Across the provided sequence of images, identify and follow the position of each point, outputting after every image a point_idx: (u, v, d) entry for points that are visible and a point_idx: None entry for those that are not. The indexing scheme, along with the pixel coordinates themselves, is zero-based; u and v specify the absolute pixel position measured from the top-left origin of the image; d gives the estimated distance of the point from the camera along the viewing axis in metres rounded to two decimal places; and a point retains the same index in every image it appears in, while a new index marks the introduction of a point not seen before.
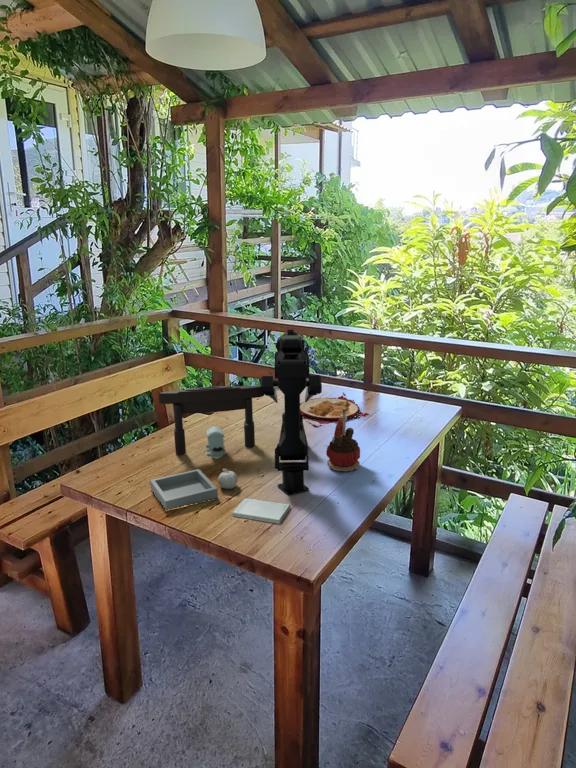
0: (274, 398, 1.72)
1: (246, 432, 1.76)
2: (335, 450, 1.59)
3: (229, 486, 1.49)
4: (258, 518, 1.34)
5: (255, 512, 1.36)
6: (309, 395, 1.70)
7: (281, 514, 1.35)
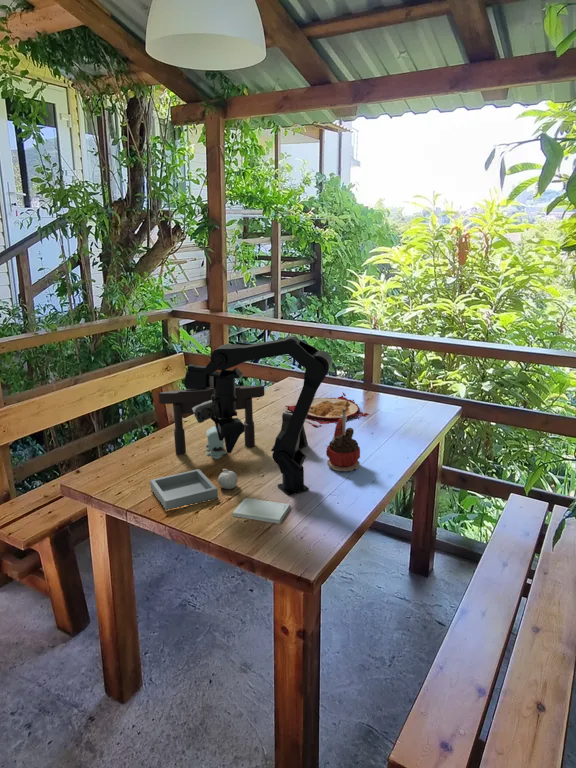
0: None
1: (246, 432, 1.76)
2: (335, 450, 1.59)
3: (229, 486, 1.49)
4: (258, 518, 1.34)
5: (255, 512, 1.36)
6: None
7: (281, 514, 1.35)
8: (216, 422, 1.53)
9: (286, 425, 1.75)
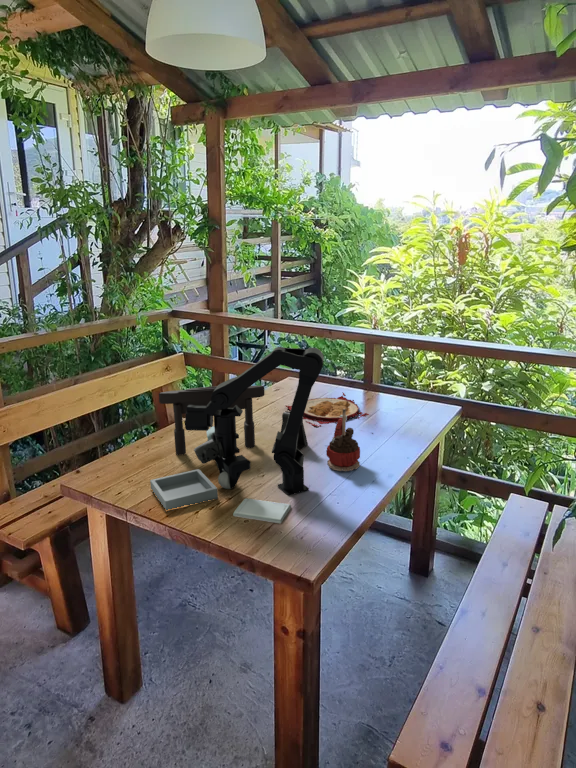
0: None
1: (246, 432, 1.76)
2: (335, 450, 1.59)
3: (229, 485, 1.49)
4: (259, 518, 1.34)
5: (256, 512, 1.36)
6: None
7: (282, 514, 1.35)
8: (218, 461, 1.52)
9: None
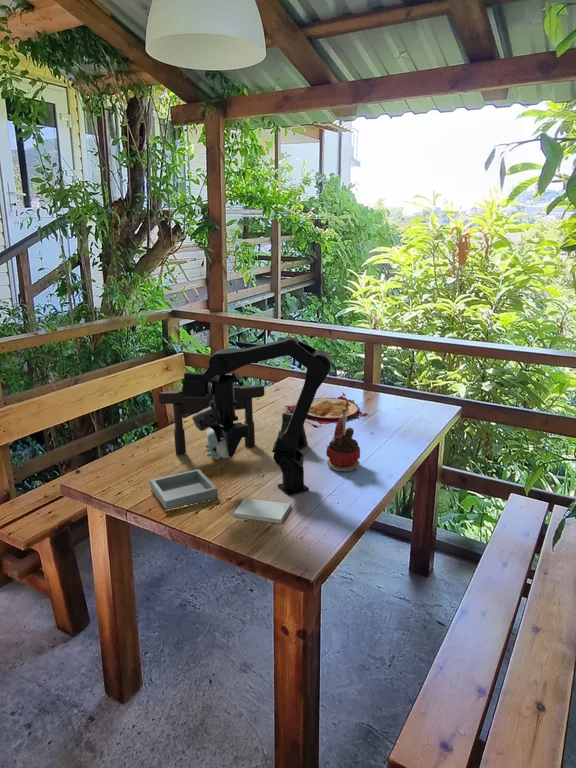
0: None
1: None
2: (335, 450, 1.59)
3: (227, 454, 1.46)
4: (260, 518, 1.34)
5: (256, 512, 1.36)
6: None
7: (282, 514, 1.35)
8: (216, 430, 1.50)
9: (286, 425, 1.75)
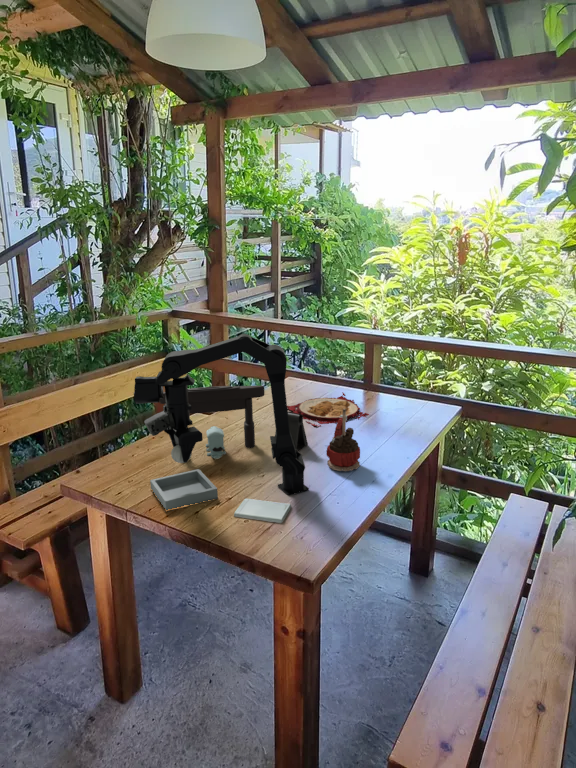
0: None
1: (246, 432, 1.76)
2: (335, 450, 1.59)
3: (182, 459, 1.42)
4: (260, 518, 1.34)
5: (257, 512, 1.36)
6: None
7: (283, 513, 1.35)
8: (171, 435, 1.46)
9: None
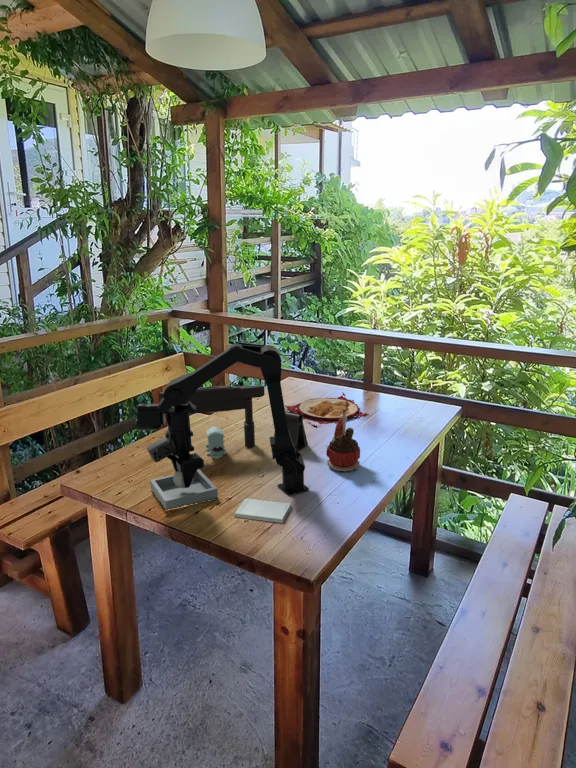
0: None
1: (246, 432, 1.76)
2: (335, 450, 1.59)
3: (184, 485, 1.44)
4: (261, 518, 1.34)
5: (257, 512, 1.36)
6: None
7: (283, 513, 1.35)
8: (173, 460, 1.48)
9: None
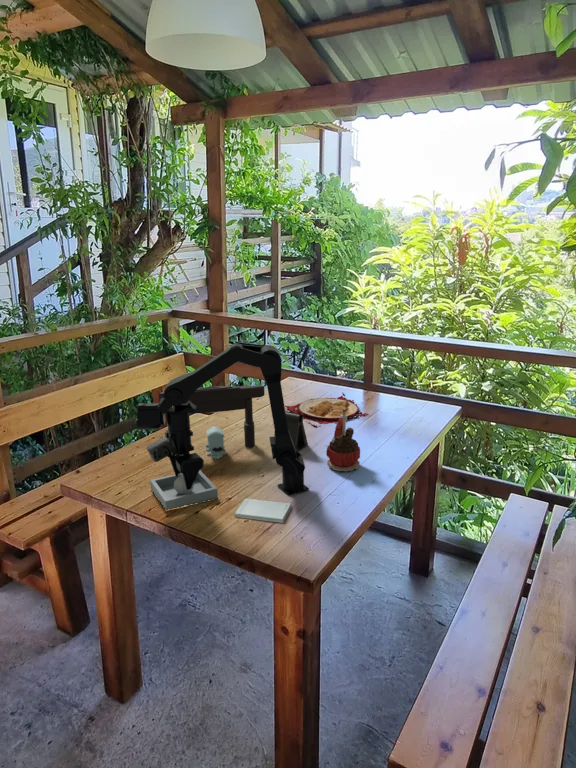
0: None
1: (246, 432, 1.76)
2: (335, 450, 1.59)
3: (184, 491, 1.45)
4: (261, 518, 1.34)
5: (258, 512, 1.36)
6: None
7: (284, 513, 1.35)
8: (171, 458, 1.49)
9: None
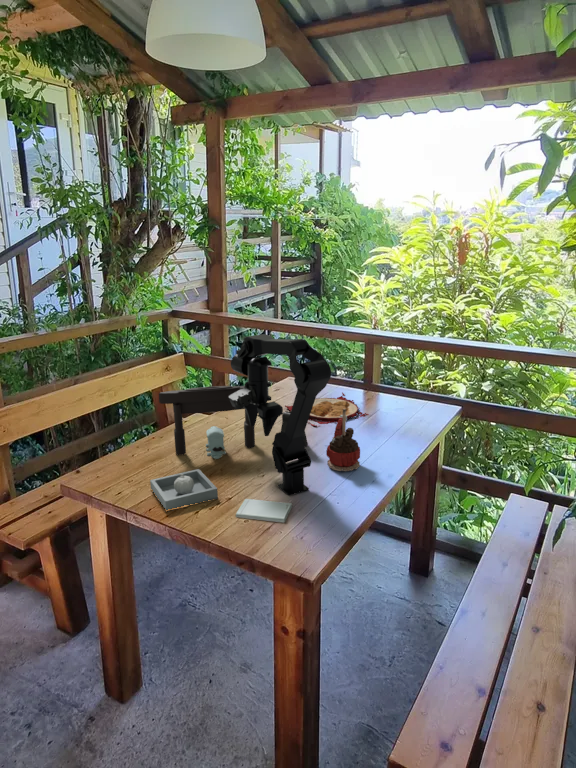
0: None
1: (246, 432, 1.76)
2: (335, 450, 1.59)
3: (184, 491, 1.45)
4: (262, 518, 1.34)
5: (259, 512, 1.36)
6: None
7: (285, 513, 1.35)
8: (248, 409, 1.61)
9: (286, 425, 1.75)
